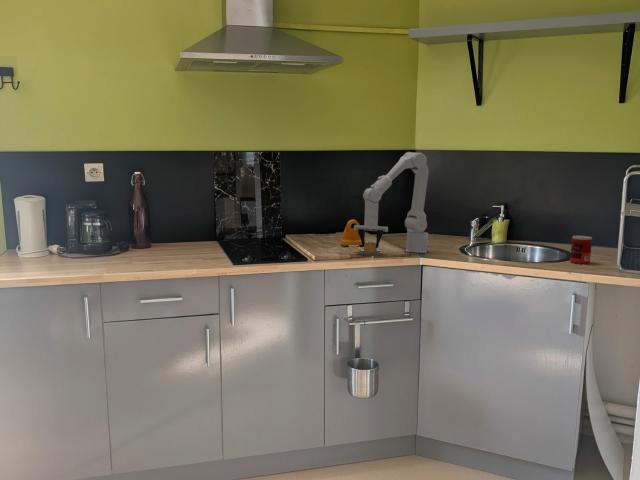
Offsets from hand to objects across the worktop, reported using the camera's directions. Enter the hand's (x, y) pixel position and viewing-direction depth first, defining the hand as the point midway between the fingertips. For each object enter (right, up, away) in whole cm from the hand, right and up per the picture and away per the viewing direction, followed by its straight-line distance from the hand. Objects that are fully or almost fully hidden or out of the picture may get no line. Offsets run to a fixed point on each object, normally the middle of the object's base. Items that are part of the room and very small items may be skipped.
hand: (370, 247), depth 267 cm
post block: (0, -3, 0) cm, 3 cm away
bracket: (-6, 0, +21) cm, 22 cm away
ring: (0, -2, 0) cm, 2 cm away
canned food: (+87, -7, -10) cm, 88 cm away
